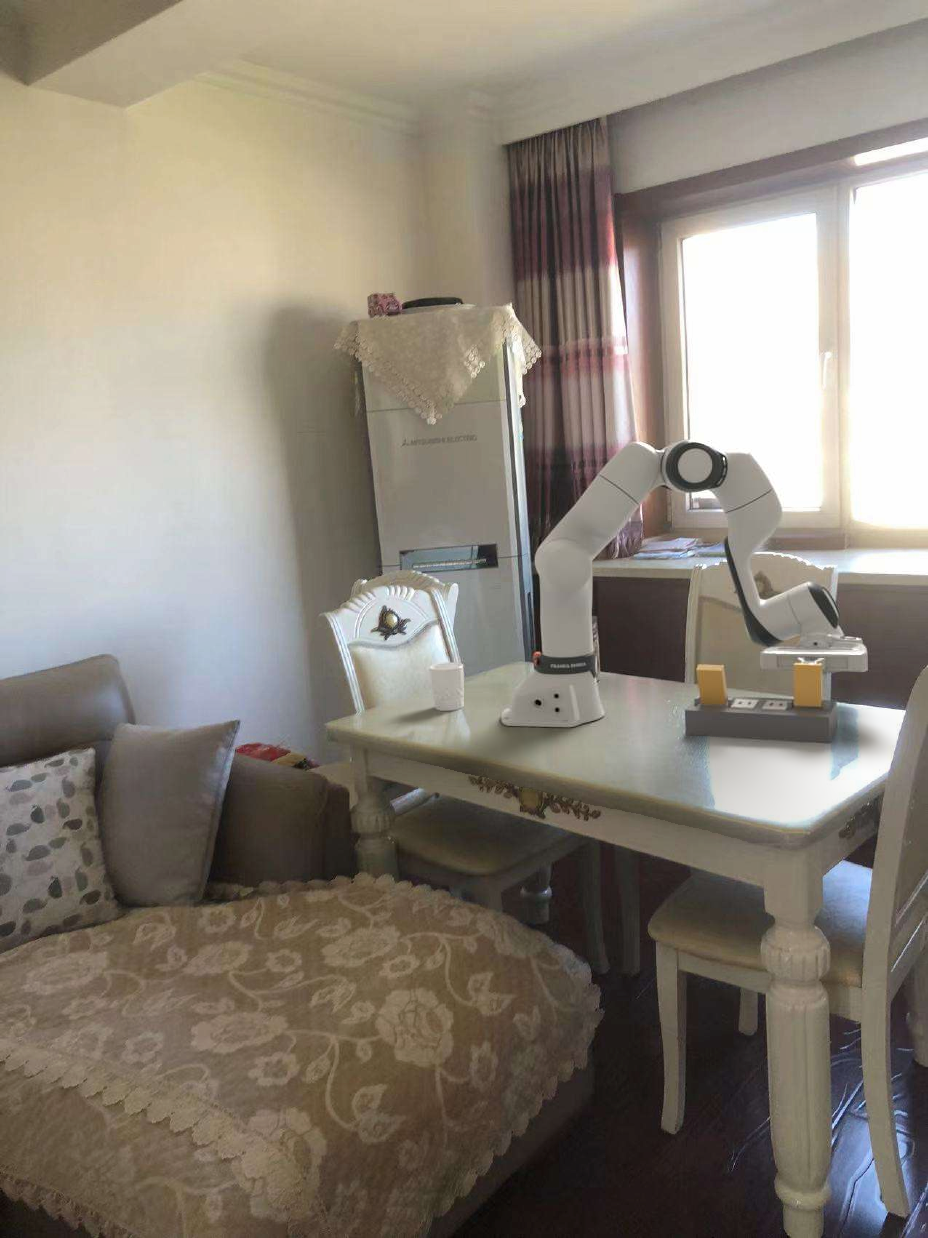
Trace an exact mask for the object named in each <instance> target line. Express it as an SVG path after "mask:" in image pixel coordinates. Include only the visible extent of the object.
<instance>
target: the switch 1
mask: <svg viewBox="0 0 928 1238" xmlns="http://www.w3.org/2000/svg"><path fill="white" fill-rule="evenodd" d="M695 671H696V677H697V684H698V691H699V693H698V694H699V695H700V700H701V703H708V704H726V703H727V700H728V696H729V695H728V689H727V681H726V673H725V671H726V670H725V666H724V664H697V667H696V670H695Z"/></svg>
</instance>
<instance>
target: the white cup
mask: <svg viewBox="0 0 928 1238" xmlns="http://www.w3.org/2000/svg"><path fill="white" fill-rule="evenodd" d="M429 673H430V675H429V676H430V683H431V690H432V696H433V697H432V698H433V700H434V708H435V710H437V711H441V712H453V711H458V710H461V709H463V708H464V707H465V702H464V701H465V698H464V696H465V686H464V685H465V681H464V680H465V676H464V664H463V663H461V662H458V661H457V662H456V661H455V662H454V661H450V662H449V661H447V662H440V663H435V664H432V665H430V666H429Z"/></svg>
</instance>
